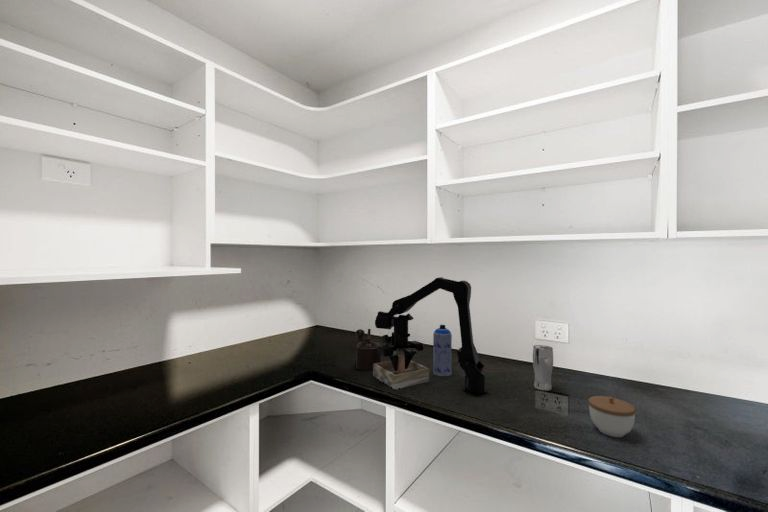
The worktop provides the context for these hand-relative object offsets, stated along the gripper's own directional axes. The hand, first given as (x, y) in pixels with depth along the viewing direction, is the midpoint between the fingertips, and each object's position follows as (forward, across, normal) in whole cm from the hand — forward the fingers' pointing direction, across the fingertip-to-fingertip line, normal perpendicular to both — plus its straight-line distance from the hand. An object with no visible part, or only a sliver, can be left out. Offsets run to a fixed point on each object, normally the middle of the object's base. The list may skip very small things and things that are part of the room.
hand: (400, 370), depth 132 cm
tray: (+4, 0, 0) cm, 4 cm away
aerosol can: (+4, -19, +3) cm, 20 cm away
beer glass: (+4, -41, +34) cm, 53 cm away
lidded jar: (+4, -28, +63) cm, 69 cm away
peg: (+4, 0, 0) cm, 4 cm away
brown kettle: (+4, +5, -18) cm, 19 cm away
